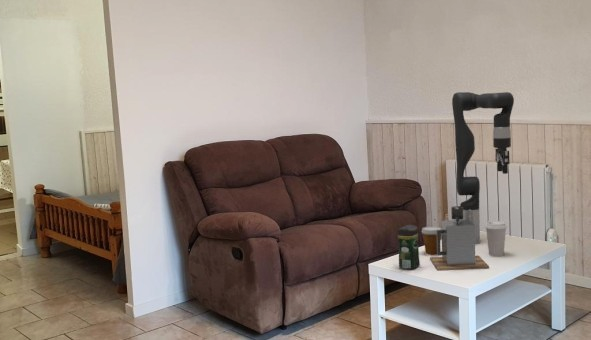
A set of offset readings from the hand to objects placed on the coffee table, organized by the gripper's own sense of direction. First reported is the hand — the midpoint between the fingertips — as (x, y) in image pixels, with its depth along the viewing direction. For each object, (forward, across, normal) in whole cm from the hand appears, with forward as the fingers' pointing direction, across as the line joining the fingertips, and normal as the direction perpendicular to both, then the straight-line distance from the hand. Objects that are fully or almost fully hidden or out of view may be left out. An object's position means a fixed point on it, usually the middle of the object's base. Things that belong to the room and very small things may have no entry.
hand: (502, 172), depth 281 cm
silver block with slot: (+37, -14, +25) cm, 47 cm away
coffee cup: (+38, -1, +4) cm, 38 cm away
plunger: (+32, -14, +23) cm, 42 cm away
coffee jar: (+38, -16, +46) cm, 62 cm away
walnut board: (+38, -14, +24) cm, 47 cm away
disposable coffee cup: (+38, +6, +32) cm, 50 cm away
